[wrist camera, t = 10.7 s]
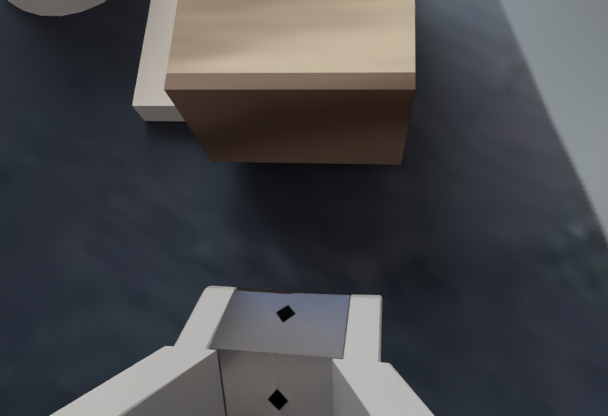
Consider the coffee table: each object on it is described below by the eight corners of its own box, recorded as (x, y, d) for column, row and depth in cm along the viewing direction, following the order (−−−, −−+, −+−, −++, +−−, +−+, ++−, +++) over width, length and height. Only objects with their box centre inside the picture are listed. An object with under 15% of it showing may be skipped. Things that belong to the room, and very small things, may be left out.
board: (397, 123, 24) (400, 107, 23) (144, 120, 26) (132, 105, 24) (399, -84, 28) (401, -109, 26) (177, -77, 29) (168, -100, 28)
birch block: (415, 89, 16) (414, -154, 19) (163, 89, 17) (200, -144, 20) (401, 164, 22) (401, -33, 25) (212, 161, 23) (235, -29, 26)
